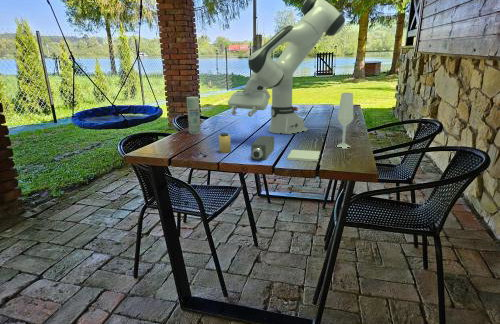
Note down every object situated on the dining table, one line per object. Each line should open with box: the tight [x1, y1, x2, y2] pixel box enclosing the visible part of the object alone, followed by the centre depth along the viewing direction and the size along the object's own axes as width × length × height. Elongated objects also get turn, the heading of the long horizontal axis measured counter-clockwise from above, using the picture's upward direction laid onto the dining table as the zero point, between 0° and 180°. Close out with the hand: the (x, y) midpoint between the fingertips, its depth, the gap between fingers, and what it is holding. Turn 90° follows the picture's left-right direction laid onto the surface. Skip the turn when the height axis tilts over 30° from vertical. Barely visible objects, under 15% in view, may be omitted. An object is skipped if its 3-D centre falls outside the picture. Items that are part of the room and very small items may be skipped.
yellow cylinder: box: [218, 132, 232, 154], centre depth 135 cm, size 5×5×8 cm
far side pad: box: [286, 149, 321, 163], centre depth 127 cm, size 12×12×1 cm
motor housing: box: [250, 135, 275, 161], centre depth 130 cm, size 22×6×6 cm, turn 164°
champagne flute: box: [336, 92, 354, 149], centre depth 138 cm, size 7×7×24 cm
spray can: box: [186, 96, 201, 135], centre depth 171 cm, size 6×6×20 cm
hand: (241, 115), depth 141 cm, fingers open, 8 cm apart
